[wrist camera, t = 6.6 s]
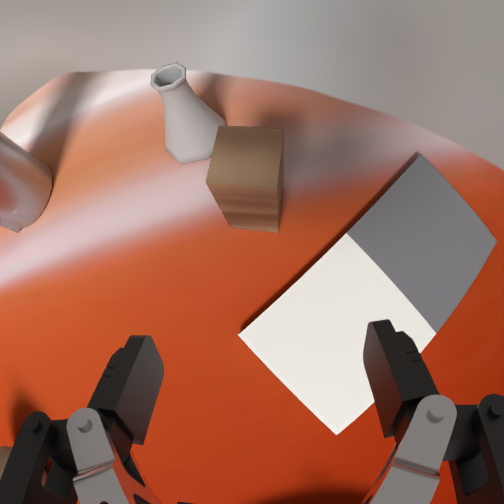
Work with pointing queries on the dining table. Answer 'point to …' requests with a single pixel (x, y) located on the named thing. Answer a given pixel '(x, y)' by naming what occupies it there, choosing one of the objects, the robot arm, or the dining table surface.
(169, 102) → the flask
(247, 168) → the block
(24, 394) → the dining table surface
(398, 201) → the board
